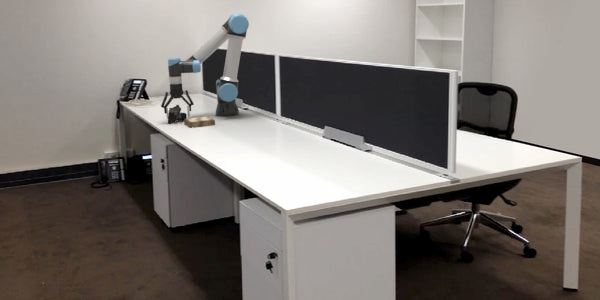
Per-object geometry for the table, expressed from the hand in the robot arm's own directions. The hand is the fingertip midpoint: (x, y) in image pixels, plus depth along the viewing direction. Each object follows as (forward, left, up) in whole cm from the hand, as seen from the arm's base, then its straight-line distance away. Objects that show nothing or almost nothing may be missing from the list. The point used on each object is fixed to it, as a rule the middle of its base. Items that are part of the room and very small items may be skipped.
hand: (178, 117), depth 372 cm
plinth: (-9, +19, -2) cm, 21 cm away
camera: (0, -1, -3) cm, 3 cm away
